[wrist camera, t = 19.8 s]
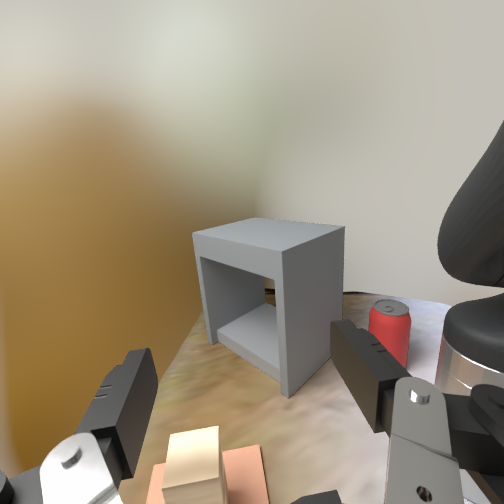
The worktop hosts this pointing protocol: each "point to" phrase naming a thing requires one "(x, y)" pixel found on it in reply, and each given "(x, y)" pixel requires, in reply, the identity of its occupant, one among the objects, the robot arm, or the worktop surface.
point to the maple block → (195, 469)
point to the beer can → (391, 327)
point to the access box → (286, 290)
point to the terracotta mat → (228, 478)
